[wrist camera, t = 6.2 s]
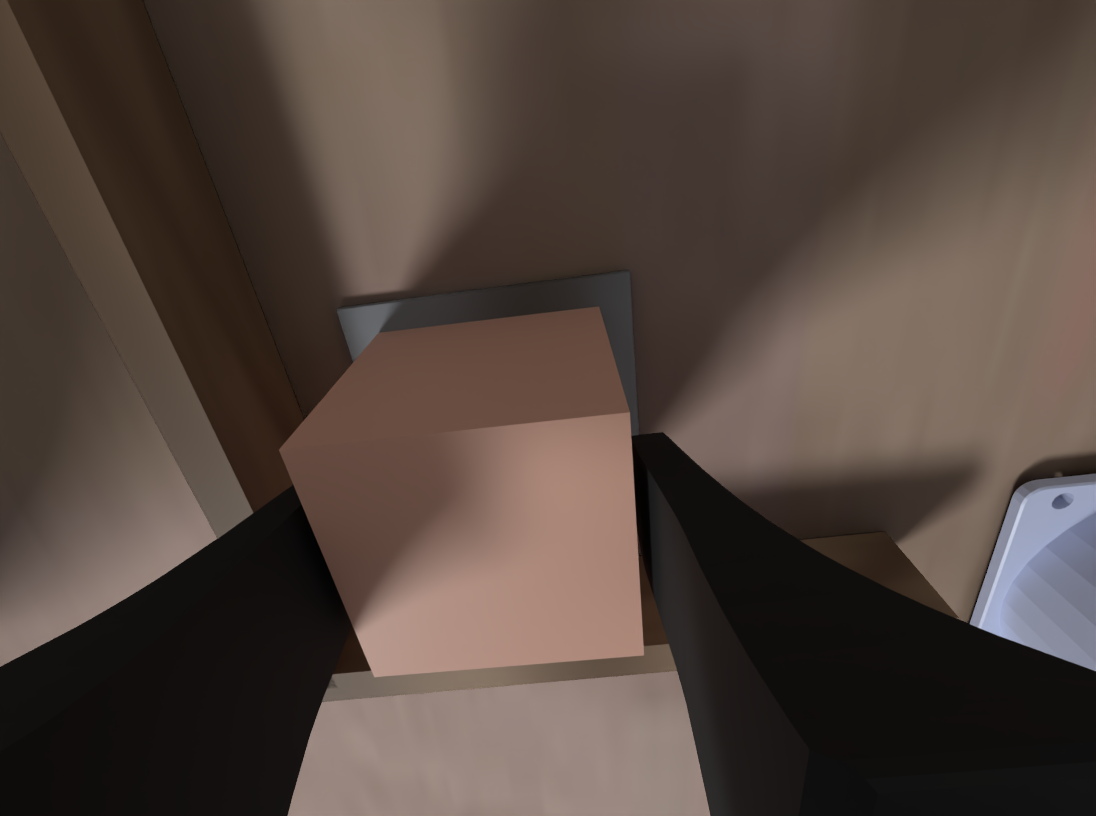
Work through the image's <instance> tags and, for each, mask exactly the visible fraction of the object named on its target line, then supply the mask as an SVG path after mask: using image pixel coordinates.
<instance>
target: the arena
mask: <svg viewBox="0 0 1096 816" xmlns="http://www.w3.org/2000/svg"><path fill="white" fill-rule="evenodd" d="M0 133H1V135H2V137H3V138H4V140H5V142H6V144H7V146H8V148H9V150H10V152H11V153H12V155H13V157H14V159H15V161H16V163H17V165H18V167H19V168H20V170H21V172H22V174H23V176H24V178H25V180H26V181H27V183H28V185H29V187H30V189H31V191H32V193H33V195H34V196H35V198H36V200H37V202H38V204H39V206H40V208H41V210H42V211H43V213H44V215H45V217H46V219H47V221H48V223H49V224H50V226H51V228H52V230H53V232H54V234H55V236H56V238H57V239H58V241H59V243H60V245H61V247H62V249H63V251H64V253H65V254H66V256H67V258H68V260H69V262H70V264H71V266H72V267H73V269H74V271H75V273H76V275H77V277H78V279H79V281H80V282H81V284H82V286H83V288H84V290H85V292H86V294H87V296H88V297H89V299H90V301H91V303H92V305H93V307H94V309H95V311H96V312H97V314H98V316H99V318H100V320H101V322H102V324H103V325H104V327H105V329H106V331H107V333H108V335H109V337H110V339H111V340H112V342H113V344H114V346H115V348H116V350H117V352H118V354H119V355H120V357H121V359H122V361H123V363H124V365H125V367H126V368H127V370H128V372H129V374H130V376H131V378H132V380H133V382H134V383H135V385H136V387H137V389H138V391H139V393H140V395H141V397H142V398H143V400H144V402H145V404H146V406H147V408H148V410H149V412H150V413H151V415H152V417H153V419H154V421H155V423H156V425H157V426H158V428H159V430H160V432H161V434H162V436H163V438H164V440H165V441H166V443H167V445H168V447H169V449H170V451H171V453H172V455H173V456H174V458H175V460H176V462H177V464H178V466H179V468H180V469H181V471H182V473H183V475H184V477H185V479H186V481H187V483H188V484H189V486H190V488H191V490H192V492H193V494H194V496H195V498H196V499H197V501H198V503H199V505H200V507H201V509H202V511H203V512H204V514H205V516H206V518H207V520H208V522H209V524H210V526H211V527H212V529H213V531H214V533H215V535H216V537H217V539H218V538H219V537H221V536H222V535H224V534H225V533H226V532H228V531H229V530H231V529H232V528H233V527H235V526H236V525H237V524H239V523H240V522H242V521H243V520H244V519H246V518H247V517H249V516H250V515H251V514H253V513H254V512H256V511H257V510H258V509H260V508H261V507H263V506H264V505H265V504H267V503H268V502H269V501H271V500H272V499H274V498H275V497H276V496H278V495H279V494H281V493H282V492H284V491H285V490H286V489H288V488H289V487H291V486H292V485H293V483H292V480H291V478H290V475H289V473H288V471H287V468H286V466H285V463H284V461H283V459H282V456H281V454H280V452H279V449H280V448H281V447H282V446H283V444H284V443H285V442H286V441H287V440H288V439H289V437H290V436H291V435H292V434H293V433H294V431H295V430H296V429H297V428H298V427H299V426H300V424H301V423H302V422H303V421H304V418H303V415H302V413H301V410H300V408H299V405H298V402H297V400H296V397H295V395H294V392H293V389H292V387H291V384H290V382H289V379H288V377H287V374H286V371H285V369H284V366H283V364H282V361H281V358H280V356H279V353H278V351H277V348H276V345H275V343H274V340H273V338H272V335H271V333H270V330H269V327H268V325H267V322H266V320H265V317H264V314H263V312H262V309H261V307H260V304H259V302H258V299H257V296H256V294H255V291H254V289H253V286H252V283H251V281H250V278H249V276H248V273H247V270H246V268H245V265H244V263H243V260H242V258H241V255H240V252H239V250H238V247H237V245H236V242H235V239H234V237H233V234H232V232H231V229H230V226H229V224H228V221H227V219H226V216H225V214H224V211H223V208H222V206H221V203H220V201H219V198H218V195H217V193H216V190H215V188H214V185H213V183H212V180H211V177H210V175H209V172H208V170H207V167H206V164H205V162H204V159H203V157H202V154H201V151H200V149H199V146H198V144H197V141H196V139H195V136H194V133H193V131H192V128H191V126H190V123H189V120H188V118H187V115H186V113H185V110H184V108H183V105H182V102H181V100H180V97H179V95H178V92H177V89H176V87H175V84H174V82H173V79H172V76H171V74H170V71H169V69H168V66H167V64H166V61H165V58H164V56H163V53H162V51H161V48H160V45H159V43H158V40H157V38H156V35H155V32H154V30H153V27H152V25H151V22H150V20H149V17H148V14H147V12H146V9H145V7H144V4H143V1H142V0H0ZM598 306H599V308H600V311H601V315H602V318H603V322H604V325H605V328H606V332H607V335H608V339H609V342H610V346H611V349H612V352H613V356H614V359H615V363H616V366H617V370H618V373H619V376H620V380H621V383H622V387H623V390H624V394H625V397H626V401H627V404H628V407H629V411H630V422H631V436H634V435H639V422H638V405H637V388H636V370H635V353H634V335H633V318H632V300H631V283H630V271H629V270H625V271H617V272H609V273H601V274H594V275H586V276H578V277H570V278H563V279H555V280H547V281H540V282H532V283H524V284H516V285H509V286H501V287H493V288H486V289H478V290H470V291H462V292H455V293H447V294H439V295H431V296H424V297H416V298H408V299H401V300H393V301H385V302H377V303H370V304H362V305H354V306H347V307H339V308H338V309H337V310H336V311H337V314H338V317H339V320H340V323H341V326H342V329H343V332H344V336H345V339H346V342H347V345H348V348H349V351H350V354H351V357H352V361H353V362H354V361H355V360H356V359H357V357H358V356H359V355H360V354H361V353H362V352H363V350H364V349H365V348H366V347H367V346H368V345H369V343H370V342H371V341H372V340H373V339H374V338H375V336H376V335H377V334H378V333H381V332H390V331H398V330H406V329H415V328H423V327H431V326H439V325H448V324H456V323H464V322H473V321H481V320H489V319H497V318H506V317H514V316H523V315H531V314H539V313H548V312H556V311H565V310H573V309H581V308H590V307H598ZM800 541H802V542H803V543H805V544H807V545H808V546H810V547H812V548H813V549H815V550H817V551H818V552H820V553H822V554H823V555H825V556H827V557H829V558H831V559H833V560H834V561H836V562H838V563H840V564H842V565H843V566H845V567H847V568H849V569H851V570H853V571H855V572H857V573H859V574H861V575H863V576H865V577H867V578H869V579H871V580H873V581H875V582H877V583H879V584H881V585H883V586H885V587H887V588H889V589H891V590H893V591H895V592H897V593H900V594H902V595H904V596H906V597H908V598H911V599H913V600H915V601H917V602H919V603H921V604H924V605H926V606H928V607H931V608H933V609H935V610H938V611H940V612H942V613H945V614H947V615H949V616H952V617H954V618H957V619H959V617H958V616H957V615H956V614H955V613H954V611H953V610H952V609H951V608H950V607H949V606H948V604H947V603H946V602H945V601H944V600H943V599H942V597H941V596H940V595H939V594H938V593H937V592H936V590H935V589H934V588H933V587H932V586H931V585H930V583H929V582H928V581H927V580H926V579H925V578H924V576H923V575H922V574H921V573H920V572H919V571H918V569H917V568H916V567H915V566H914V565H913V564H912V562H911V561H910V560H909V559H908V558H907V557H906V555H905V554H904V553H903V552H902V551H901V550H900V548H899V547H898V546H897V545H896V544H895V543H894V541H893V540H892V539H891V538H890V537H889V536H888V534H887V533H886V532H875V533H865V534H855V535H845V536H835V537H825V538H815V539H805V540H800ZM638 559H639V576H640V593H641V611H642V628H643V645H644V655H643V656H631V657H618V658H606V659H593V660H581V661H569V662H556V663H544V664H532V665H519V666H507V667H494V668H482V669H470V670H457V671H445V672H433V673H420V674H408V675H396V676H383V677H374V676H373V673H372V671H371V668H370V666H369V664H368V661H367V659H366V656H365V654H364V652H363V649H362V647H361V645H360V642H359V640H358V637H357V635H356V633H355V630H354V628H353V625H352V627H351V629H350V632H349V635H348V637H347V640H346V642H345V645H344V647H343V650H342V652H341V655H340V657H339V660H338V662H337V665H336V667H335V670H334V672H333V675H332V678H331V680H330V683H329V685H328V688H327V690H326V693H325V695H324V698H323V700H322V702H327V701H338V700H350V699H361V698H372V697H384V696H395V695H407V694H418V693H429V692H441V691H452V690H464V689H475V688H486V687H498V686H509V685H521V684H532V683H543V682H555V681H566V680H578V679H589V678H600V677H612V676H623V675H635V674H646V673H657V672H669V671H677V669H676V665H675V662H674V659H673V656H672V653H671V650H670V646H669V643H668V640H667V637H666V634H665V631H664V628H663V624H662V621H661V618H660V615H659V612H658V609H657V606H656V602H655V599H654V596H653V593H652V590H651V586H650V583H649V580H648V577H647V574H646V570H645V567H644V562H643V557H642V556H638Z"/></svg>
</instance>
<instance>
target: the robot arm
mask: <svg viewBox="0 0 1096 816" xmlns="http://www.w3.org/2000/svg"><path fill="white" fill-rule="evenodd" d="M631 439H632V456H633V473H634V491H635V508H636V525H637V531H638V536H639V541H640V547H641V552H642V557H643V562H644V567H645V570H646V574H647V577H648V580H649V583H650V586H651V590H652V593H653V596H654V599H655V602H656V606H657V609H658V612H659V615H660V618H661V621H662V624H663V628H664V631H665V634H666V637H667V640H668V643H669V646H670V650H671V653H672V656H673V659H674V662H675V665H676V669H677V672H678V675H679V678H680V682H681V686H682V689H683V693H684V697H685V700H686V704H687V708H688V713H689V718H690V722H691V727H692V731H693V736H694V740H695V745H696V749H697V754H698V759H699V763H700V768H701V773H702V777H703V782H704V787H705V791H706V796H707V801H708V806H709V810H710V815H711V816H1096V474H1087V475H1077V476H1068V477H1058V478H1048V479H1039V480H1034V481H1029V482H1027V483H1025V484H1023V485H1021V486H1020V487H1019V488H1018V489H1017V490H1016V491H1015V493H1014V494H1013V496H1012V499H1011V502H1010V505H1009V508H1008V511H1007V514H1006V517H1005V520H1004V523H1003V526H1002V529H1001V532H1000V535H999V538H998V541H997V544H996V547H995V550H994V553H993V556H992V559H991V561H990V564H989V567H988V570H987V573H986V576H985V579H984V582H983V585H982V588H981V591H980V594H979V597H978V600H977V603H976V606H975V609H974V612H973V615H972V618H971V621H970V624H968V623H966V622H964V621H961V620H959V619H957V618H954V617H952V616H949V615H947V614H945V613H942V612H940V611H938V610H935V609H933V608H931V607H928V606H926V605H924V604H921V603H919V602H917V601H915V600H913V599H911V598H908V597H906V596H904V595H902V594H900V593H897V592H895V591H893V590H891V589H889V588H887V587H885V586H883V585H881V584H879V583H877V582H875V581H873V580H871V579H869V578H867V577H865V576H863V575H861V574H859V573H857V572H855V571H853V570H851V569H849V568H847V567H845V566H843V565H842V564H840V563H838V562H836V561H834V560H833V559H831V558H829V557H827V556H825V555H823V554H822V553H820V552H818V551H817V550H815V549H813V548H812V547H810V546H808V545H807V544H805V543H803V542H802V541H800V540H798V539H797V538H795V537H793V536H792V535H790V534H788V533H787V532H785V531H784V530H782V529H780V528H779V527H777V526H776V525H774V524H773V523H771V522H770V521H768V520H767V519H765V518H764V517H763V516H761V515H760V514H759V513H757V512H756V511H754V510H753V509H752V508H750V507H749V506H747V505H746V504H745V503H743V502H742V501H741V500H739V499H738V498H737V497H736V496H734V495H733V494H732V493H731V492H729V491H728V490H727V489H726V488H725V487H723V486H722V485H721V484H720V483H718V482H717V481H716V480H715V479H714V478H712V477H711V476H710V475H709V474H708V473H707V472H705V471H704V470H703V469H702V468H701V467H700V466H699V465H698V464H696V463H695V462H694V461H693V460H692V459H691V458H690V457H689V456H688V455H687V454H686V453H685V452H683V451H682V450H681V449H680V448H679V447H678V446H677V445H676V444H675V443H674V442H673V441H672V440H671V439H670V438H669V437H668V436H666V435H665V434H664V433H663V432H661V433H652V434H643V435H634V436H631ZM351 627H352V623H351V621H350V618H349V616H348V614H347V611H346V609H345V606H344V604H343V602H342V599H341V597H340V595H339V592H338V590H337V587H336V585H335V583H334V580H333V578H332V575H331V573H330V571H329V568H328V566H327V564H326V561H325V559H324V556H323V554H322V552H321V549H320V547H319V544H318V542H317V540H316V537H315V535H314V533H313V530H312V528H311V525H310V523H309V521H308V518H307V516H306V513H305V511H304V509H303V506H302V504H301V502H300V499H299V497H298V494H297V492H296V490H295V487H294V485H292V486H291V487H289V488H288V489H286V490H285V491H284V492H282V493H281V494H279V495H278V496H276V497H275V498H274V499H272V500H271V501H269V502H268V503H267V504H265V505H264V506H263V507H261V508H260V509H258V510H257V511H256V512H254V513H253V514H251V515H250V516H249V517H247V518H246V519H244V520H243V521H242V522H240V523H239V524H237V525H236V526H235V527H233V528H232V529H231V530H229V531H228V532H226V533H225V534H224V535H222V536H221V537H219V538H218V539H216V540H215V541H213V542H212V543H210V544H209V545H208V546H206V547H205V548H203V549H202V550H200V551H199V552H197V553H196V554H194V555H193V556H191V557H190V558H188V559H187V560H185V561H184V562H182V563H181V564H179V565H178V566H176V567H175V568H173V569H172V570H170V571H169V572H168V573H166V574H165V575H163V576H161V577H160V578H158V579H157V580H155V581H154V582H152V583H150V584H149V585H147V586H146V587H144V588H142V589H141V590H139V591H138V592H136V593H134V594H133V595H131V596H129V597H128V598H126V599H124V600H123V601H121V602H119V603H117V604H116V605H114V606H112V607H111V608H109V609H107V610H105V611H104V612H102V613H100V614H99V615H97V616H95V617H93V618H92V619H90V620H88V621H86V622H85V623H83V624H81V625H79V626H77V627H76V628H74V629H72V630H70V631H68V632H66V633H64V634H62V635H60V636H58V637H57V638H55V639H53V640H51V641H49V642H47V643H45V644H43V645H41V646H39V647H37V648H35V649H34V650H32V651H30V652H28V653H26V654H24V655H22V656H20V657H18V658H16V659H14V660H12V661H11V662H9V663H7V664H5V665H3V666H1V667H0V816H287V815H288V811H289V807H290V804H291V800H292V796H293V792H294V789H295V785H296V782H297V778H298V775H299V771H300V768H301V764H302V761H303V757H304V754H305V750H306V747H307V743H308V740H309V737H310V733H311V731H312V728H313V725H314V722H315V719H316V716H317V713H318V711H319V708H320V705H321V703H322V700H323V698H324V695H325V693H326V690H327V688H328V685H329V683H330V680H331V678H332V675H333V672H334V670H335V667H336V665H337V662H338V660H339V657H340V655H341V652H342V650H343V647H344V645H345V642H346V640H347V637H348V635H349V632H350V629H351Z"/></svg>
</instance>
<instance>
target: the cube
mask: <svg viewBox="0 0 1096 816" xmlns="http://www.w3.org/2000/svg"><path fill="white" fill-rule="evenodd" d="M279 452H280V454H281V456H282V459H283V461H284V463H285V466H286V468H287V471H288V473H289V475H290V478H291V480H292V483H293V485H294V487H295V490H296V492H297V494H298V497H299V499H300V502H301V504H302V506H303V509H304V511H305V513H306V516H307V518H308V521H309V523H310V525H311V528H312V530H313V533H314V535H315V537H316V540H317V542H318V544H319V547H320V549H321V552H322V554H323V556H324V559H325V561H326V564H327V566H328V568H329V571H330V573H331V575H332V578H333V580H334V583H335V585H336V587H337V590H338V592H339V595H340V597H341V599H342V602H343V604H344V606H345V609H346V611H347V614H348V616H349V618H350V621H351V623H352V625H353V628H354V630H355V633H356V635H357V637H358V640H359V642H360V645H361V647H362V649H363V652H364V654H365V656H366V659H367V661H368V664H369V666H370V668H371V671H372V673H373V676H374V677H383V676H396V675H408V674H420V673H433V672H445V671H457V670H470V669H482V668H494V667H507V666H519V665H532V664H544V663H556V662H569V661H581V660H593V659H606V658H618V657H631V656H643V655H644V645H643V628H642V611H641V593H640V576H639V559H638V542H637V525H636V508H635V491H634V473H633V456H632V439H631V422H630V411H629V407H628V404H627V401H626V397H625V394H624V390H623V387H622V383H621V380H620V376H619V373H618V370H617V366H616V363H615V359H614V356H613V352H612V349H611V346H610V342H609V339H608V335H607V332H606V328H605V325H604V322H603V318H602V315H601V311H600V308H599V306H598V307H590V308H581V309H573V310H565V311H556V312H548V313H539V314H531V315H523V316H514V317H506V318H497V319H489V320H481V321H473V322H464V323H456V324H448V325H439V326H431V327H423V328H415V329H406V330H398V331H390V332H381V333H378V334H377V335H376V336H375V338H374V339H373V340H372V341H371V342H370V343H369V345H368V346H367V347H366V348H365V349H364V350H363V352H362V353H361V354H360V355H359V356H358V357H357V359H356V360H355V361H354V362H353V363H352V365H351V366H350V367H349V368H348V369H347V370H346V372H345V373H344V374H343V375H342V376H341V377H340V379H339V380H338V381H337V382H336V383H335V385H334V386H333V387H332V388H331V389H330V390H329V392H328V393H327V394H326V395H325V396H324V397H323V399H322V400H321V401H320V402H319V403H318V404H317V406H316V407H315V408H314V409H313V410H312V412H311V413H310V414H309V415H308V416H307V417H306V419H305V420H304V421H303V422H302V423H301V424H300V426H299V427H298V428H297V429H296V430H295V431H294V433H293V434H292V435H291V436H290V437H289V439H288V440H287V441H286V442H285V443H284V444H283V446H282V447H281V448H280V449H279Z"/></svg>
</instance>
